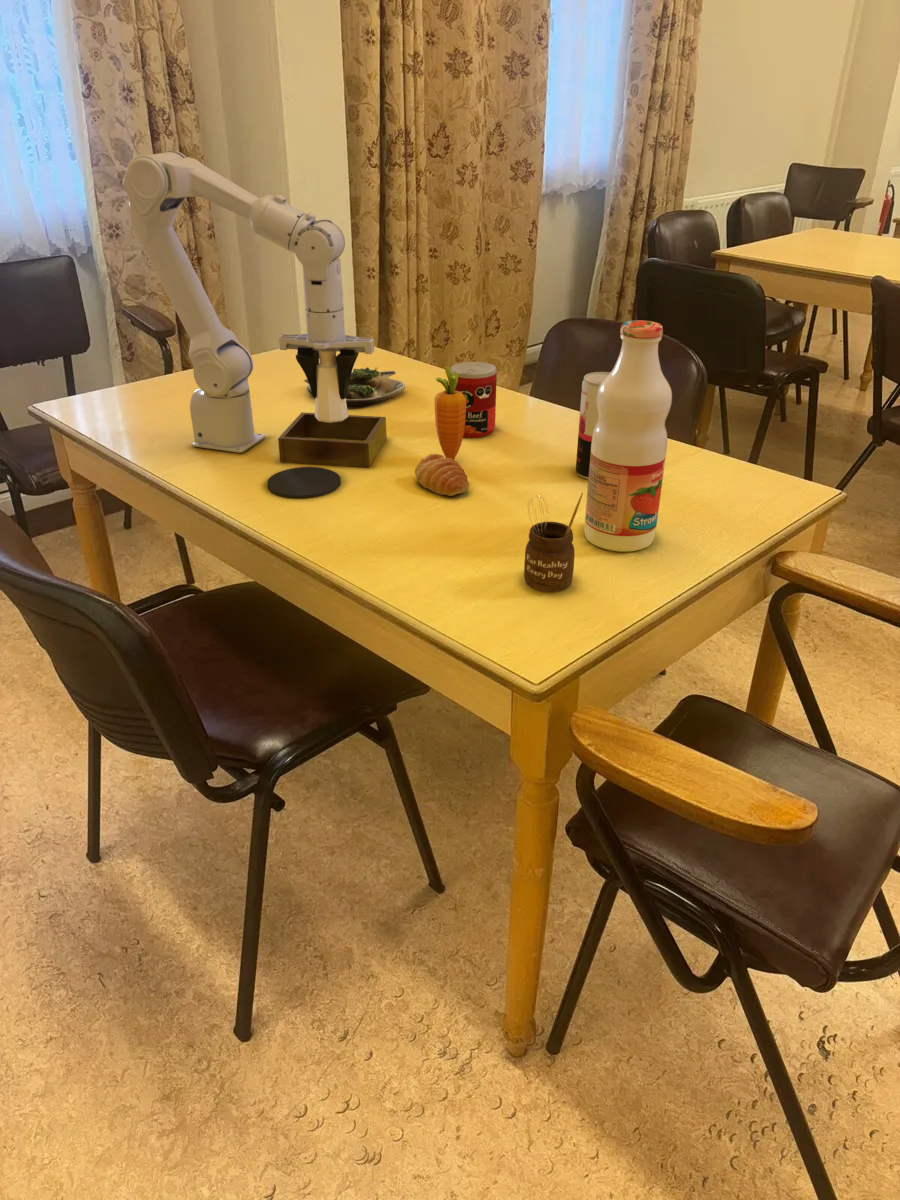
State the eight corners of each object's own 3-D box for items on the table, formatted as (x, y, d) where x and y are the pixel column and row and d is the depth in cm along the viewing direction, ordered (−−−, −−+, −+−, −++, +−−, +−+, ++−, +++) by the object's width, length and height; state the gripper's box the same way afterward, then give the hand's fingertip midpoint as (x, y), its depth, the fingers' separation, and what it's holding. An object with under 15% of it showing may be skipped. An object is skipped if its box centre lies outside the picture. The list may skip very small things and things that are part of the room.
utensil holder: (528, 567, 112) (533, 478, 106) (578, 574, 111) (586, 484, 105) (518, 589, 107) (522, 498, 101) (570, 597, 106) (577, 505, 100)
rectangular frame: (280, 462, 142) (277, 438, 140) (303, 434, 153) (301, 412, 151) (369, 467, 140) (368, 443, 138) (386, 439, 151) (385, 416, 149)
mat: (253, 492, 132) (253, 489, 132) (288, 466, 141) (288, 463, 141) (321, 502, 129) (321, 499, 129) (352, 474, 138) (352, 471, 138)
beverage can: (571, 478, 137) (578, 382, 129) (580, 463, 142) (588, 369, 135) (613, 484, 135) (623, 386, 127) (621, 468, 140) (631, 374, 133)
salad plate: (369, 371, 185) (368, 349, 183) (427, 391, 174) (427, 367, 172) (292, 391, 174) (290, 368, 171) (349, 413, 163) (348, 388, 160)
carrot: (462, 469, 140) (463, 374, 132) (431, 466, 141) (430, 372, 133) (468, 457, 144) (469, 365, 137) (438, 455, 145) (437, 363, 138)
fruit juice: (592, 517, 125) (611, 312, 111) (660, 528, 122) (688, 319, 108) (575, 546, 117) (593, 330, 103) (647, 558, 114) (676, 337, 100)
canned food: (443, 435, 153) (443, 371, 148) (460, 420, 160) (461, 359, 154) (485, 441, 151) (486, 376, 145) (501, 426, 157) (503, 364, 152)
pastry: (480, 492, 132) (480, 468, 130) (441, 502, 129) (441, 478, 127) (447, 471, 139) (447, 448, 137) (409, 480, 136) (409, 457, 134)
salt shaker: (334, 409, 147) (330, 342, 141) (355, 417, 143) (352, 348, 138) (307, 417, 143) (302, 348, 138) (328, 425, 140) (324, 355, 135)
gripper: (269, 312, 132) (278, 401, 139) (365, 316, 130) (368, 407, 137) (284, 302, 138) (291, 388, 145) (375, 305, 136) (379, 393, 143)
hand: (330, 396), depth 142 cm, fingers closed on salt shaker, 4 cm apart
